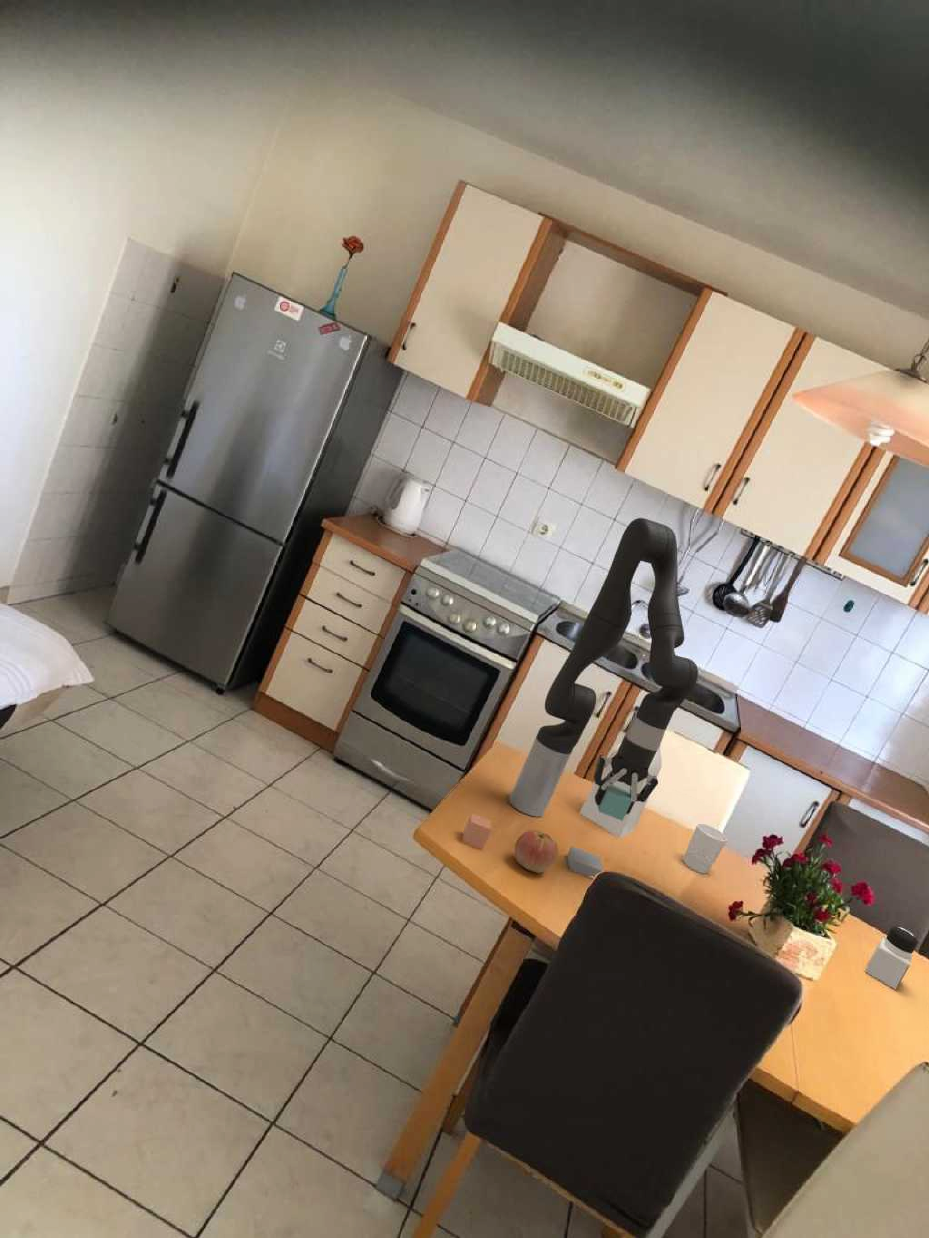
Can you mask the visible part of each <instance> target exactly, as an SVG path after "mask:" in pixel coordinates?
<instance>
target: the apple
mask: <svg viewBox="0 0 929 1238" xmlns="http://www.w3.org/2000/svg"><path fill="white" fill-rule="evenodd" d="M514 844H515V845H514V849H513V851H514V858H515V860H516V862H517V863H518V864H519V865H520V866H521V867H523V868H524V869H526V870H528V871H531V872H533V873H537V874H538V873H540V874H541V873H543V872H545V871H547V870H548V869H550V867H552V866H553V864H554V863H555V861H556V859H557V857H558V851H559V850H558V849H559V848H558V843H557V841H556V839H555V838H554V837H553V836H552V835H550V834H549V833H547V832H544V831H543V830H539V829H529V830H526V831H524V832H523V833H521V834H520V835H519V836H518V838H517V839H516V841H515V843H514Z"/></svg>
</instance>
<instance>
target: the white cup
mask: <svg viewBox="0 0 929 1238" xmlns="http://www.w3.org/2000/svg"><path fill="white" fill-rule="evenodd" d="M727 841H728V837H727V835H725V834H724V833H723V832H721V831H720V830H719V829H718V828H715V827H714V826H711V825H709V824H707V823H702V822H700V823H697V825H696V826H695V829H694V831H693V834H692V836H691V838H690V841H689V843H688V846H687V848H686V852H685V853H684V856H683V858H682V861H683V863H684V864H685V866H687V867H688V868H689V869H691V870H693V871H694V872H697V873H700V874H705V875H706V874H708V873H709V872H710V870H711V869H712V866H713V865H714V863H715V862H716V860H717V858H718V857H719V856H720V854H721V852H722V850H723V848H724V846H725V845H726V843H727Z"/></svg>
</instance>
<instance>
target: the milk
mask: <svg viewBox="0 0 929 1238" xmlns="http://www.w3.org/2000/svg"><path fill="white" fill-rule="evenodd" d="M620 745H621V742H620V743H618V744H617V745H616V746H615V747H614V748H613V750H612V751H611V752H610V754H609V756H608V758H611V759H612V757H614V756H615V755H616V753H617V751H618V749H619V747H620ZM662 763H663V761H662V753H661V746H660V747H659V748H658V750H657V752H656V754H655V756H654V758H653V761H652V763H651V765H650V767H649V769H648V773H649V774H650V775H652V776H656V778H657V779H658V777H659V774H660V771H661V769H662V766H663V765H662ZM611 771H612V766H611V764H608V766H607V767H606V768H604V769H603V773H602V778H601V779H602V780H603V779H604V778H605V777H606V776H607V775H608V774H609V773H610V772H611ZM646 779H647V778H645V779H643V780H641V781H640V782H638V783H637V794H639V793H640V792H641V790H642V789H643V788H644V786H645V785H646ZM612 785H615V786H617V787H620V788H622V789H625V790H627V791H629V794H630V786H629V785H627V784H625V783H624V782H619V781H616V782H615V783H614V784H612ZM598 788H599V785H597V784H595V783H594V784H593V786H592V789H591V790H590V791H589V794H588V796H587V797H586V799H585V801H584V803H583V805H582V807H581V809H580V811H579V812H578V813H579V814H580V815H582V816H583V817H584V818H587V819H589V820H590V821H591V822H594V824H596V825H598V826H600V828H603V829H605V830H606V831H607V832H609V833H611V834H612V835H614V836H615V837H617V838H619V839H620V838H623V837H624V836H627V835H628V834H629V833H631V832H633V831H635V830H636V828H637V827H638V825H639V822H640V820H641V817H642V814H643V812H644V810H645V807H646V804H647V803H648V801H649V797H650V796H651V794H650V795H649V796H648V798H647V799H646V801H645V802H641V801H636V802H635V803H634V805H633V807H632V809H631V811H630V813H629V814H626V815H625V817H624V819H623V821H621V820H619V819H616V818H614V817H611V816H609V815H606V814H604V813H601V812H599V810H598V806H597V805H596V801H595V795H596V793H597V791H598Z"/></svg>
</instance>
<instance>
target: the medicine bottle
mask: <svg viewBox="0 0 929 1238" xmlns="http://www.w3.org/2000/svg"><path fill="white" fill-rule="evenodd" d="M877 944H878V945H877V946H876V947H875V950H874V952H873V954H872V955H871V957H870V959H869V960H868V962H867V966H866V968H865V973H866V974H868V975H870V976H871V977H873V978H874V979H875V980H878V981H879V982H881V983H883V984H884V985H885V986H888V987H890V988H891V989H893V990H895V991H896V990H897V989H898V987H899V986H900V984H901V982H902V980H903V979H904V976H905V974H907V971H908V969H909V967H911V966H910V965H911V962H912V958H913V955H912V954H913V953H914V951H915V949H916V947H917V945H918V944H919V941H918V939H917V937H915V935H914V934H913V933H912V932H911V931H909V930H907V929H905V928H903V927H901V926H900V927H898V926H891V928H890V930H889V931H888V934H887V935H886V937H885V938H884V937H882V938H881V939H880V941H879V943H877Z"/></svg>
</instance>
